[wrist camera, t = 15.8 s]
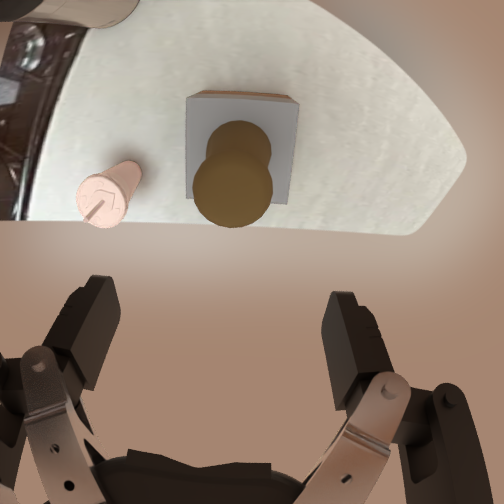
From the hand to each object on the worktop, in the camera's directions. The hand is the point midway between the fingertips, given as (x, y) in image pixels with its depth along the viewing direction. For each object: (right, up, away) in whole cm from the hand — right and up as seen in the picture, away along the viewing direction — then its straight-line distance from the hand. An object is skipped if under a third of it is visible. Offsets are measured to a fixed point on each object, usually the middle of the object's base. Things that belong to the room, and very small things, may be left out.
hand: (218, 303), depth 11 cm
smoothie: (-15, +13, +28) cm, 34 cm away
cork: (0, +11, +17) cm, 20 cm away
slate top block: (0, +14, +21) cm, 25 cm away
